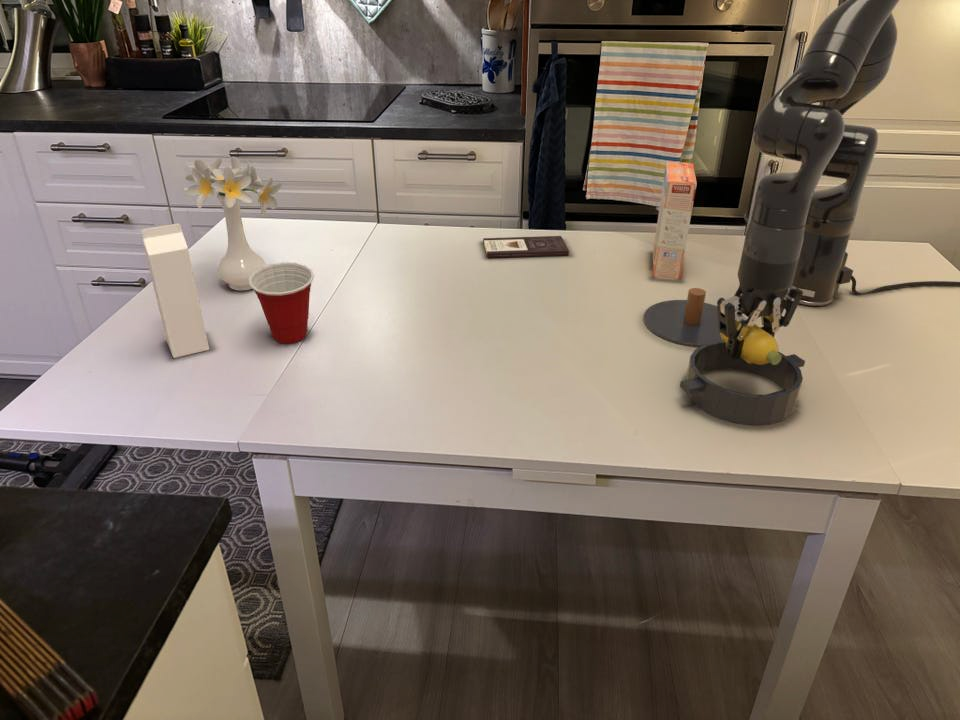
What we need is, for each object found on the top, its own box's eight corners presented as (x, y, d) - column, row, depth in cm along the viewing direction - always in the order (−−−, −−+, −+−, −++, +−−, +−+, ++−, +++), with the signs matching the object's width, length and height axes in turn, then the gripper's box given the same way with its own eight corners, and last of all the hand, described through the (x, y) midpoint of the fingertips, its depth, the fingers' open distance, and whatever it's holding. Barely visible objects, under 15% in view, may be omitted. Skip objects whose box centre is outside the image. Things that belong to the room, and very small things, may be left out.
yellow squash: (711, 340, 116) (716, 313, 113) (736, 334, 118) (741, 307, 115) (760, 377, 107) (766, 348, 104) (786, 370, 109) (793, 342, 106)
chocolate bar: (568, 251, 163) (487, 253, 161) (568, 255, 163) (487, 257, 161) (560, 235, 170) (483, 238, 169) (560, 239, 171) (483, 242, 169)
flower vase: (279, 301, 143) (260, 174, 130) (190, 294, 145) (163, 169, 132) (303, 273, 154) (288, 154, 141) (220, 267, 156) (198, 149, 143)
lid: (625, 313, 140) (629, 279, 136) (701, 298, 145) (707, 265, 142) (679, 358, 126) (685, 321, 122) (761, 339, 132) (769, 303, 128)
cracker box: (681, 282, 152) (698, 182, 141) (651, 279, 153) (665, 180, 142) (679, 255, 164) (694, 161, 153) (652, 253, 165) (665, 160, 154)
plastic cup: (255, 354, 126) (244, 291, 120) (261, 324, 135) (251, 264, 129) (320, 349, 127) (312, 287, 121) (321, 320, 137) (314, 260, 130)
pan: (650, 384, 119) (654, 354, 116) (758, 358, 126) (765, 330, 123) (714, 442, 106) (721, 410, 103) (831, 410, 113) (840, 379, 110)
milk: (209, 350, 127) (184, 229, 116) (172, 358, 125) (143, 236, 113) (202, 334, 132) (177, 217, 120) (166, 342, 129) (137, 223, 118)
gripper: (747, 269, 98) (724, 376, 107) (830, 253, 103) (802, 357, 112) (712, 248, 104) (693, 351, 113) (792, 233, 109) (768, 334, 117)
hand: (747, 354), depth 112 cm, fingers closed on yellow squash, 5 cm apart
